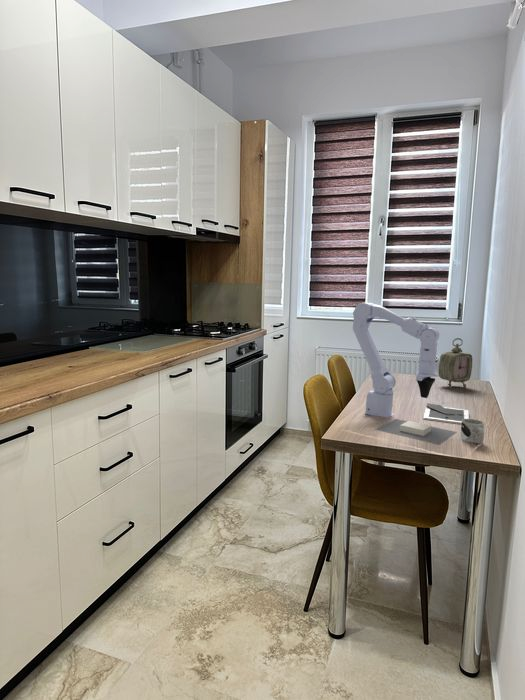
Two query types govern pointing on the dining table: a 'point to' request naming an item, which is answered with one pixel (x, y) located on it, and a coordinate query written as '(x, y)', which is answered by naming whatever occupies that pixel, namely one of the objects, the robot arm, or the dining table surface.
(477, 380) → the dining table surface
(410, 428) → the tile
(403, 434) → the mat
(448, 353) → the tabletop clock
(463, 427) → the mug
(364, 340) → the robot arm
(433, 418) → the picture frame
